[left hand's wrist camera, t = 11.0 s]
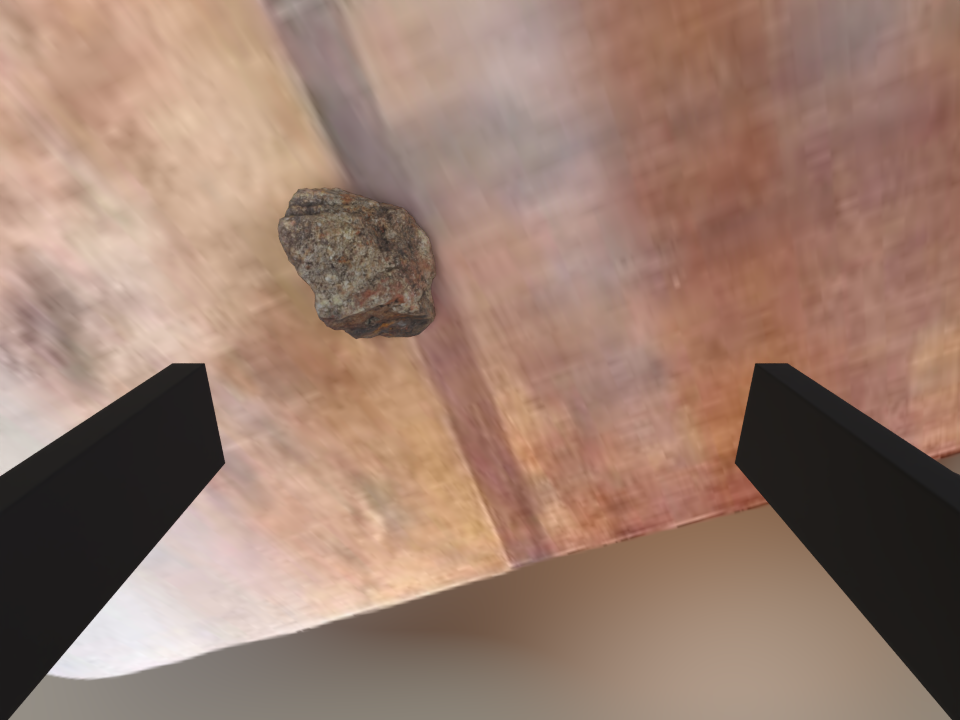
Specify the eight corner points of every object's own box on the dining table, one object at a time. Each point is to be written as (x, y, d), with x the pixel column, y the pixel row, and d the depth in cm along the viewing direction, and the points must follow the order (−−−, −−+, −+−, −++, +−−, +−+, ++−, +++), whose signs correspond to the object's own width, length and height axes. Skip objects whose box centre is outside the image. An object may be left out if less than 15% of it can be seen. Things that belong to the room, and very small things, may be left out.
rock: (349, 342, 49) (451, 323, 49) (326, 385, 42) (447, 363, 41) (297, 186, 43) (413, 162, 42) (259, 202, 35) (400, 173, 35)
